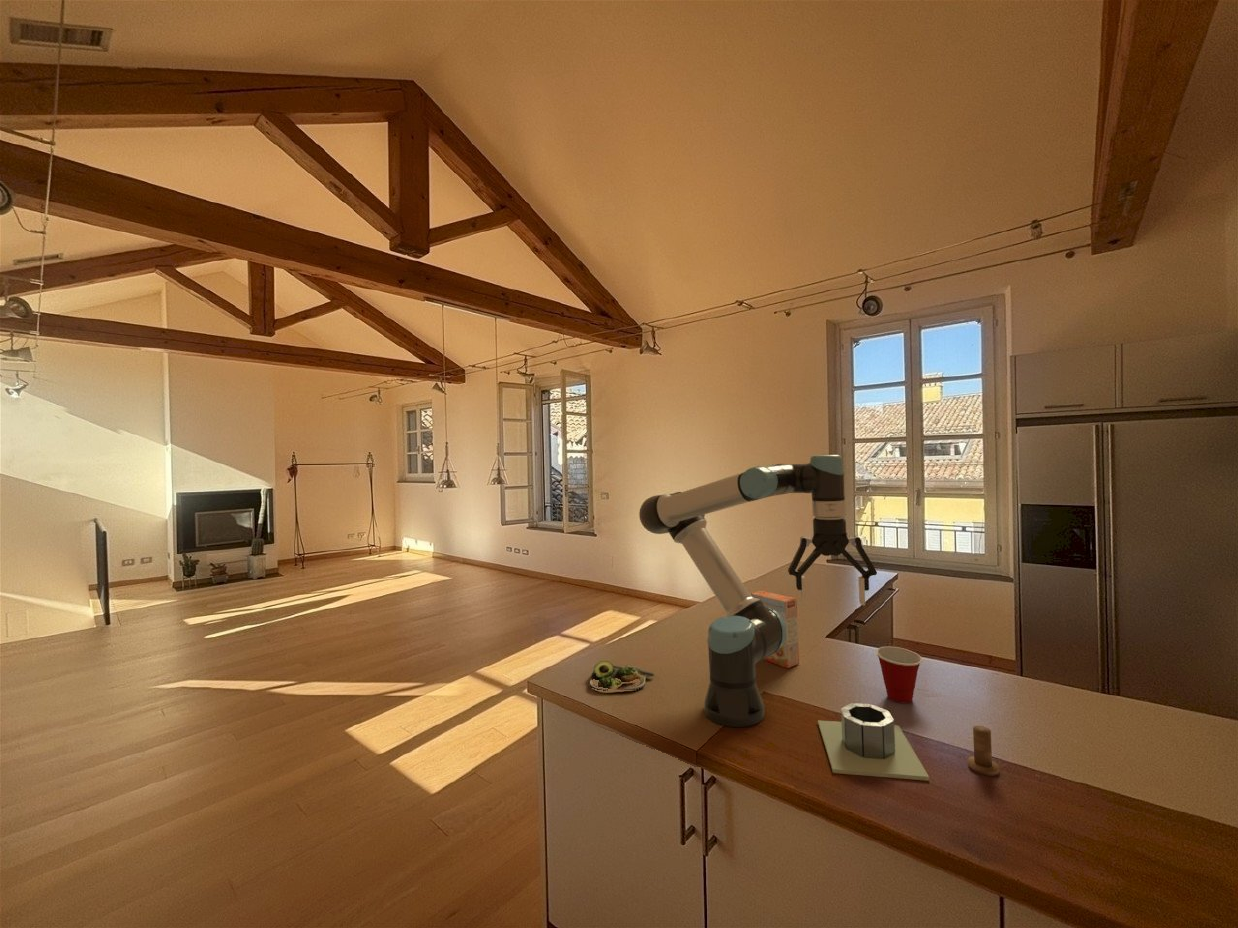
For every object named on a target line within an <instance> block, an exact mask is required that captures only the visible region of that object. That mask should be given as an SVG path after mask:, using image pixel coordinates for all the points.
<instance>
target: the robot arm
mask: <svg viewBox="0 0 1238 928" xmlns="http://www.w3.org/2000/svg"><path fill="white" fill-rule="evenodd" d="M809 459H810V461H809V463H776V464H770V465H763V466H762V465H757V466H753V467H750V468H748V469H746V470H745V471H744V472H740V473H737V474H734V475H731V476H728V477H724V478H722V479H717V480H715V481H713V482H710V483H707V484H703V485H699V486H697V487H694V488H691V489H687V490H685V491H677V492H673V493H664V494H657V495H652V496H649V498H646V499H645V501H643V502H642V504H641V506H640V508H639V514H638V515H639V517H638V518H639V520H640V523H641V525H642V526H643V527H644V529H645V530H647V531H648V532H650V533H652V534H656V535H660V534H661V535H663V534H668V533H669V535H670V536H671V538H672V540H673V541H674V543H677V544H681V545H682V547H683V548H684V549H685V551H686V552H687V554H688V555H689V557H690V559H691V560H692V561H693V563H694V565H695V566H696V568H697V570H698V571H699V572H700V574H701V575H702V577H703V579H704V581H705V582H706V583H707V585H708V586H709V588H710V589H711V592H712V593H713V594H714V596H715V598H716V599H717V600H718V602H719V604H720V605H721V607H722V608H723V610H724V611H725V613H726V616H722V617H719V618H716V619H715V620H713V621H712V622H711V623H710V625H708V628H707V629H708V630H707V633H708V634H707V641H706V642H707V645H708V646H707V647H708V648H707V649H708V665H709V685H708V687H707V692H706V695H705V698H704V705H703V706H704V708H703V709H704V713H705V716H706V717H707V718H708V719H709V720H710V721H712V722H714V723H715V722H716V723H715V724H718V725H721V726H725V727H732V728H745V727H750V726H754V725H757V724H758V723H759V724H760V722H761V721H762V720H764V718H765V704H764V701H763V698H762V696H761V693H760V690H759V688H758V685H757V677H756V676H757V675H756V674H757V671H756V670H757V669H756V664H757V663H759V662H761V661H763V659H764V658H766V657H768V656H769V655H772V654H774V653H775V652H777V651H778V649H780V648H781V647H782V646H783V644H784V643H785V640H786V634H787V630H786V625H785V622H784V620H783V619H782V617H781V616H780V615H779V613H777V612H776V611H775V610H772V609H770V608H766V607H765V606H764V604H763V603H762V601H761V600H760V599H758V598H753V597H752V596H751V593H750V591H748V589H747V588H746V585H744V583H743V581H742V580H741V578H740V577H739V576H738V574H737V573H736V571H735V570H734V568H733V567H732V566H731V564H730V563H729V561H728V560H727V558H726V556H725V555H724V553H723V552H722V550H721V549H720V548H719V547H718V545H717V543H716V542H715V540H714V539H713V537H712V536H711V534H710V533H709V531H708V529H707V519H706V518H705V516H706V515H707V514H711V513H715V512H718V511H722V510H726V509H729V508H734V507H735V506H740V505H744V504H747V503H751V502H755V501H759V500H762V499H767V498H769V497H774V496H781V495H787V494H811V502H812V503H811V504H812V516H813V517H814V518H813V519H812V527H813V528H812V530H813V531H812V532H813V533H812V534H813V535H812V538H809V537H805V536H801V537H799V538H800V539H799V546H798V548H797V550H796V552H795V554H794V557H793V558H792V560H791V563H790V565H789V567H788V569H787V572H788V574H789V575H790V576H794V577H795V586H796V589H797V591H800V599H801V600H800V601H801V603H802V605H807V599H806V597H807V594H806V577H805V576H804V574H805V573H806V572H807V571H808V569H809V568H810V567H811V566H812V565H813V563H815V561H816V560H817V559H818V558H819V557H820V556H821V555H822V556H825V557H826V556H827V557H829V556H834V557H838V556H840V555H842V556H843V557H844V558H845V559H846V560H847V561H848V562H849V563H850V564H851V565H852V566H853V567H854V569H856V570H857V571H858V573H860V574H861V575H858V576H857V577H858V581H857V582H858V601H859V604H860V605H862V606H866V593H865V592H866V591H869V590H870V578H871V577H872V576H876V575H877V574H878V570H876V567H874V565H873V562H872V561H871V559H870V558H869V556H868V554H867V552H866V551H865V549H864V548H863V545H862V539H861V537H859V536H857V535H854V536H853V537H848V535H847V522H846V521H847V520H846V518H844V517H845V516H846V501H845V500H846V499H845V498H846V497H845V471H844V470H845V469H844V463H843V462H844V461H843V457H842V456H841V455H839V454H827V455H826V454H823V455H812V456H811V457H810V458H809ZM849 543H850V544H851V545H852V546H853V547H855V550H856V551H857V553H858V555H859V556H860V557H861V560H862V562H863V563H864V565H865V567H866V568H867V570H866V569H864V567H862V566H861V564H860V563H859V562H858V561H857V560H855V558H853V556H852V555H851V554H850V553H849V552H848V551H847V549H846V548H847V546H848V545H849ZM810 544H812V545H813V546H814V547H815V548H814V549H813V550H812V552H811V553H810V555H808V556H807V558H806V559H805V560H804V562H803V563H802V564H801V565H800V566H799V563H800V562H801V560H802V557H803V555H804V553H805V552H806V549H807V548H808V547H809V546H810ZM798 566H799V567H798Z"/></svg>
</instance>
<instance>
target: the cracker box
mask: <svg viewBox="0 0 1238 928" xmlns="http://www.w3.org/2000/svg"><path fill="white" fill-rule="evenodd" d="M750 595H751V596H752V597H753V598H758V599H760V600H761V601H762V603H763V604H764V606H765V607H766V608H770V609H772V610H775V611H776V612H777V613H779V615H780V616H781V617H782V619H783V620H784V622H785V625H786V630H787V634H786V640H785V643H784V644H783V646H782V647H781V648H780V649H778V651H777V652H775V653H774V654H772V655H769V656H768V657H766V658H764V659H763V660H764V661H766V662H769V663H772V664H775V665H777V666H780V667H783V668H786V669H789V668H792V667H795V666H798V665H799V664H800V655H799V653H800V651H799V650H800V649H799V632H798V630H799V629H798V626H799V625H798V609H797V606H798V605H797V603H798V602H797V598H796V597H791V596H788V595H787V596H786V595H782V594H778V593H775V592H774V593H773V592H768V591H767V590H766V591H765V590H759V591H755V592H752V593H750ZM763 660H762V661H763Z"/></svg>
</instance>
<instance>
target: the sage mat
mask: <svg viewBox="0 0 1238 928" xmlns="http://www.w3.org/2000/svg"><path fill="white" fill-rule="evenodd" d="M817 725H818V728H819V731H820V734H821V738H822V741H823V743H824V747H825V751H826V754H827V757H828V761H829V765H830V767H831V771H832V773H833V774H842V775H843V774H844V775H852V776H853V775H854V776H865V777H866V776H868V777H880V778H893V779H902V780H903V779H905V780H915V781H916V780H917V781H926V782H927V781H928V782H929V781H930V775H928V773H927V771H926V769H925V767H924V765H923V764H922V762H921V761H920V759H919V757H918V756H917V754H916V752H915V751H914V749H913V747H912V745H911V744H910V742H909V740H908V739H907V738H906V736H905V734H904V732H903V730H902V729H901V727H900V725H899V724H898V725H897V724H894V733H895V753H894V754H893V755H891V756H889V757H888V758H886V759H873V758H864V757H861V756H859V755H857V754H855V753H853V752H851V751H849V750H847V749H846V748H845V745H844V743H843V740H842V721H832V720H817Z"/></svg>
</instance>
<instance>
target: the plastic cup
mask: <svg viewBox="0 0 1238 928" xmlns="http://www.w3.org/2000/svg"><path fill="white" fill-rule="evenodd" d="M875 653H876V655H877V657H878V660H879V664H880V669H881V672H882V677H883V678H882V679H883V683H884V686H885V691H886V696H887V697H888V699H889V700H890V701H893V702H895V703H899V704H910V703H912V702H913V698H914V694H915V693H914V691H915V687H916V682H917V677H918V671H919V667H920V665H921V664H922V662H923V657H922V656H921V655H919V654H918V653H917V652H914V651H912V650H910V649H907V648H902V647H898V646H881V647H878V648H877V649H876V652H875Z"/></svg>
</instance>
